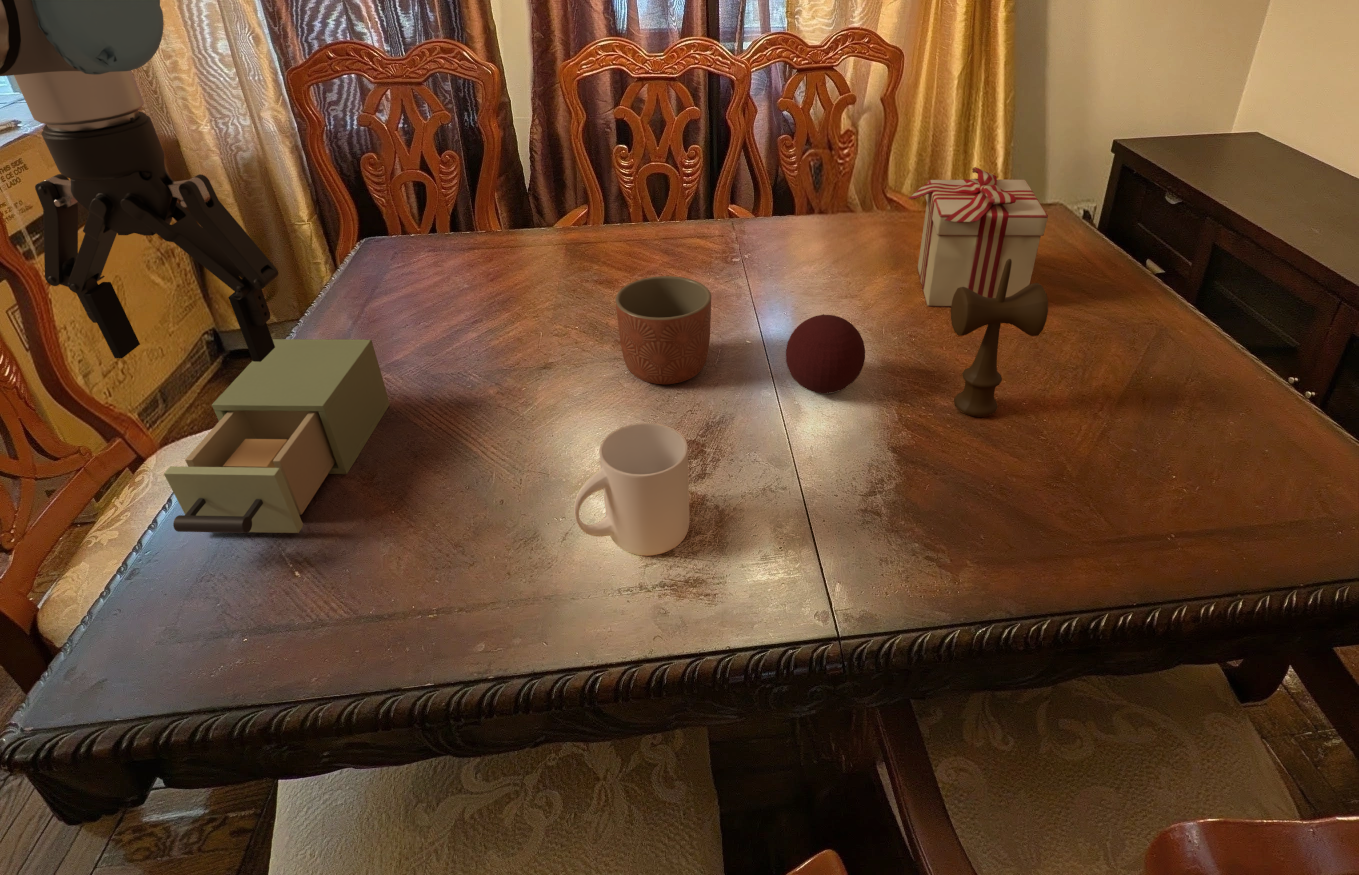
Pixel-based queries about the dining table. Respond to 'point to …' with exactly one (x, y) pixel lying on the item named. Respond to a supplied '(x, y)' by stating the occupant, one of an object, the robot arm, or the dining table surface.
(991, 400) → the kendama
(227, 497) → the drawer
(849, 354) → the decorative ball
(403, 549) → the dining table surface
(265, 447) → the block
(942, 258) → the gift box
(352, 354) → the cabinet
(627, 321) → the planter
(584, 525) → the mug
